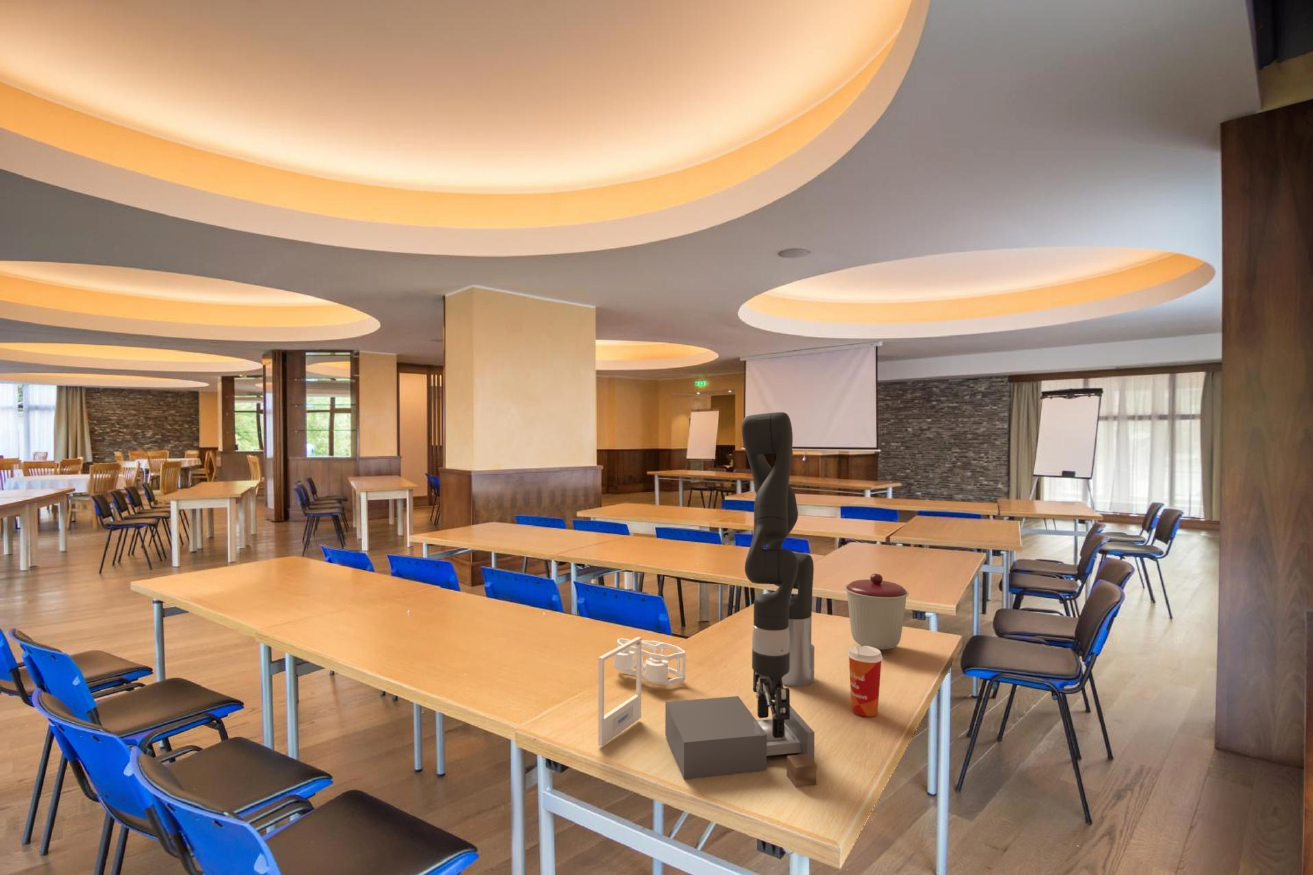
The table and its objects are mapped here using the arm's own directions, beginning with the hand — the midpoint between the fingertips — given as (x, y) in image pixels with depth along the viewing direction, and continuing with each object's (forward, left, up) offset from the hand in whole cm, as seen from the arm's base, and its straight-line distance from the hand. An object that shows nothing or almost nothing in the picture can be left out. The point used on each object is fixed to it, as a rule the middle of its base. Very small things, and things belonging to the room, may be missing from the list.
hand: (770, 726), depth 126 cm
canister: (-53, -51, -4) cm, 74 cm away
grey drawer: (+4, 0, -4) cm, 6 cm away
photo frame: (+29, -12, -4) cm, 32 cm away
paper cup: (-27, -11, -4) cm, 29 cm away
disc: (0, 0, -2) cm, 2 cm away
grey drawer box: (+12, 0, -4) cm, 13 cm away
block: (-1, +13, -4) cm, 14 cm away
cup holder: (+18, -41, -4) cm, 45 cm away
